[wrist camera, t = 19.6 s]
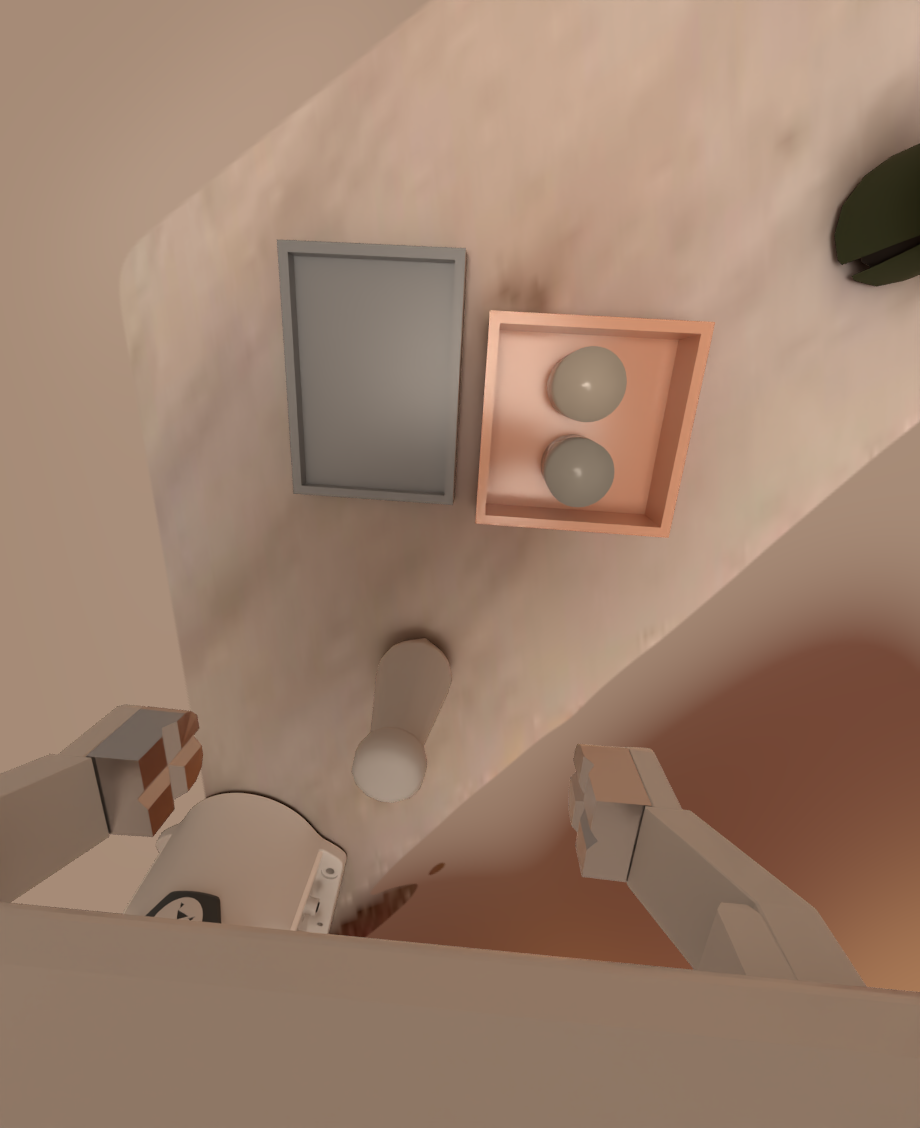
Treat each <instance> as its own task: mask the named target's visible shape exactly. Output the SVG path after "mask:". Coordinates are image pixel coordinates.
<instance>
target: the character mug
mask: <svg viewBox="0 0 920 1128" xmlns="http://www.w3.org/2000/svg"><path fill="white" fill-rule="evenodd" d="M834 236H835V243H836V250H837V258H838V261H839V262H840V263H841V264H842V265H843V264H846V263H848V262H851V261H853V260H856V259H859V258H861V261H862V263H864V264H866V265H868V266H870V267H872V268H869V269H867V270H865V271H862V272H860V273H858V274H855V275H853V276H852V278H853V279H854V280H855V281H858V282H862V283H866V284H869V285H873V286H881V285H886V284H890V283H895V282H900V281H904V280H907V279H909V278H912V277H915V276H917V275H920V144H918V145H916V146H913V147H911V148H909V149H907V150H904V151H902V152H900V153H898V154H895V155H893V156H891V157H890V158H889V159H887V160H886V161H884V162H883V163H882V164H880V165H879V166H878V167H876V168H875V169H874V170H872V171H871V172H870V173H868V174H867V175H865V176H864V178H863V179H862V180H861V182H860V183H859V184H858V186H857V187H856V188H855V190H854V191H853V192H852V194H851V195H850V196H849V198H848V199H847V200H846V202H845V203H844V204H843V206H842V210H841V213H840V217H839V221H838V224H837V228H836V232H835V235H834Z"/></svg>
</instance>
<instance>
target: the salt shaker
mask: <svg viewBox="0 0 920 1128" xmlns="http://www.w3.org/2000/svg"><path fill="white" fill-rule="evenodd" d="M451 681H452V674H451V670H450V665H449V661H448V660H447V658H446V656H445V655H444V653H443V652H442V651H441V650H440V649H439V648H437V647H436V646H435V645H434V644H432V643H431V642H430V641H428V640H427V639H426V638H421V639H414V640H407V641H402V642H400V643H398V644H396V645H394V646H392V647H391V648H390V649H389V650H388V651H387V652H386V654H385V655H384V656H383V657H382V658H381V659H380V662H379V666H378V669H377V673H376V682H375V692H374V703H373V713H372V723H371V732H370V733H369V734H368V735H367V736H366V737H365V738H364V739H363V740H362V741H361V742H360V744H359V746H358V748H357V750H356V753H355V757H354V761H353V766H352V774H353V777H354V780H355V783H356V785H357V786H358V787H359V788H360V789H361V790H362V791H363V792H364V793H365V794H366V795H367V796H369V797H371V798H373V799H376V800H378V801H380V802H391V803H394V802H398V801H401V800H405V799H408V798H410V797H411V796H412V795H414V794H415V793H416V792H417V791H418V790H419V789H420V787H421V784H422V782H423V779H424V776H425V772H426V768H427V758H426V754H425V750H424V744H425V742H426V740H427V738H428V736H429V733H430V731H431V729H432V727H433V725H434V722H435V720H436V718H437V716H438V714H439V711H440V709H441V707H442V705H443V703H444V701H445V698H446V696H447V694H448V691H449V688H450V684H451Z"/></svg>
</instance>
